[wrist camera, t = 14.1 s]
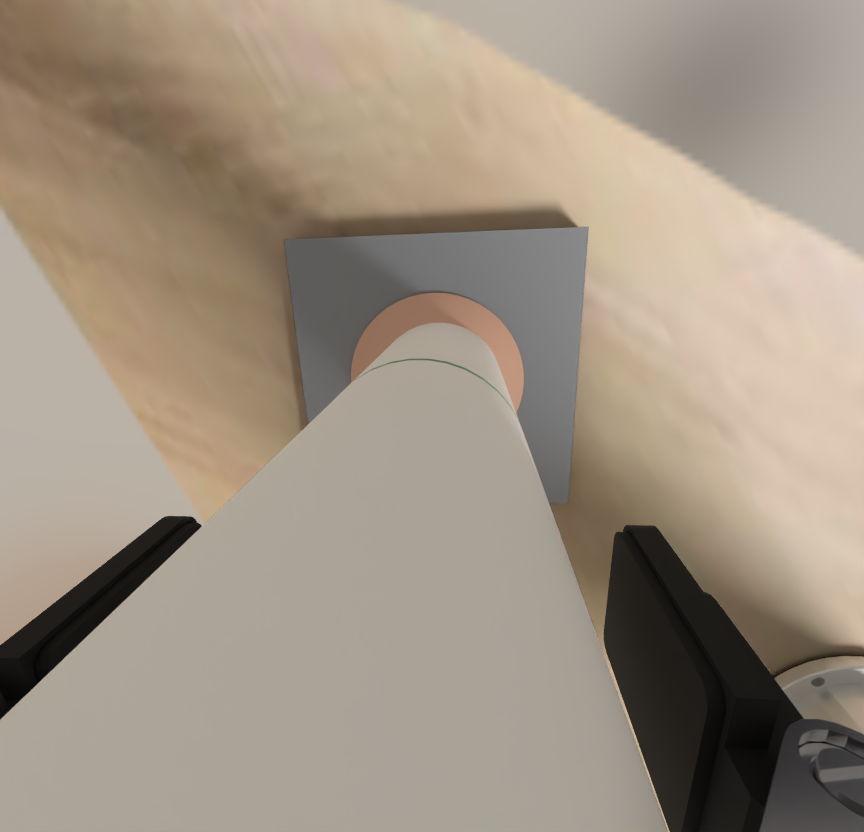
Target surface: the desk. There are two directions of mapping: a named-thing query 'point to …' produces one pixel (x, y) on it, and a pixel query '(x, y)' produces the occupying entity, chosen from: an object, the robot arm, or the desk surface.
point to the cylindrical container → (349, 644)
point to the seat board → (451, 316)
